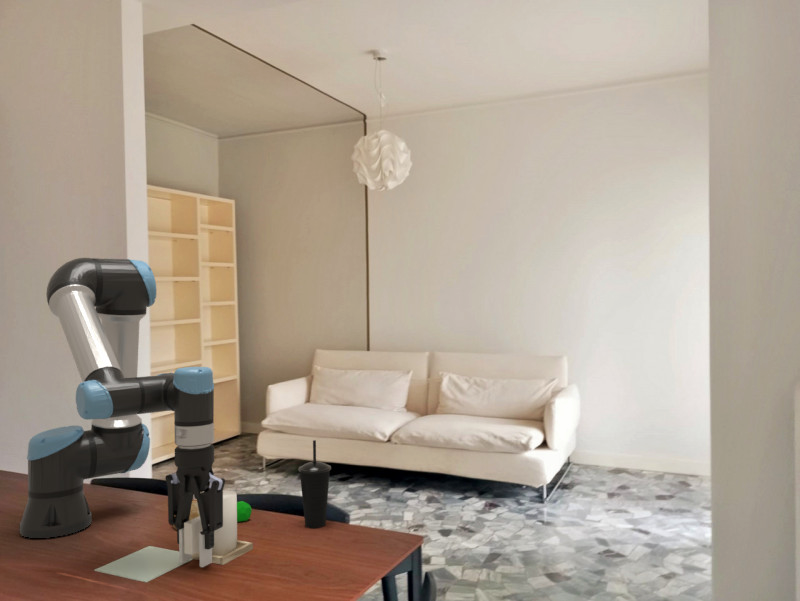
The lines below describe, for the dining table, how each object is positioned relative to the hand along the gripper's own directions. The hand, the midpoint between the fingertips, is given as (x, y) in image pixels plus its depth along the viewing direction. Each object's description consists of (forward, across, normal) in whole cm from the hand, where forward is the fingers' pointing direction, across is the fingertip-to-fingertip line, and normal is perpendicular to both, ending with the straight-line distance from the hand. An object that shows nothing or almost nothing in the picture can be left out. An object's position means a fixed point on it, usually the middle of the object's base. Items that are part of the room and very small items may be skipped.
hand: (195, 562), depth 128 cm
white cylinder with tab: (+1, 0, +4) cm, 4 cm away
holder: (+1, 0, +7) cm, 7 cm away
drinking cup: (+1, +8, +31) cm, 32 cm away
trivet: (+1, -10, -3) cm, 10 cm away
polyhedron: (+1, -10, +26) cm, 28 cm away
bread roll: (+2, -18, +19) cm, 27 cm away
